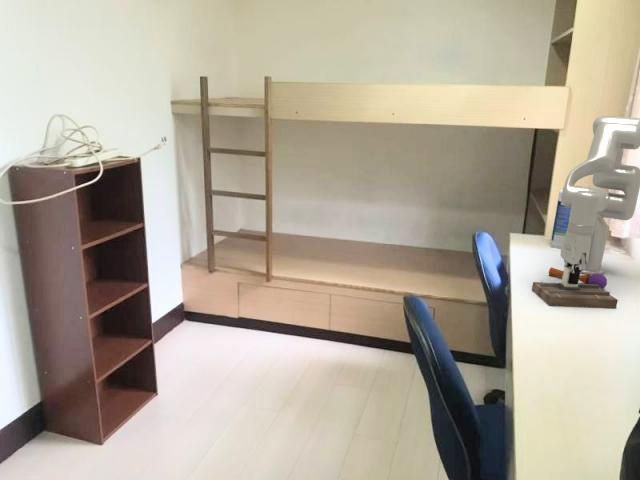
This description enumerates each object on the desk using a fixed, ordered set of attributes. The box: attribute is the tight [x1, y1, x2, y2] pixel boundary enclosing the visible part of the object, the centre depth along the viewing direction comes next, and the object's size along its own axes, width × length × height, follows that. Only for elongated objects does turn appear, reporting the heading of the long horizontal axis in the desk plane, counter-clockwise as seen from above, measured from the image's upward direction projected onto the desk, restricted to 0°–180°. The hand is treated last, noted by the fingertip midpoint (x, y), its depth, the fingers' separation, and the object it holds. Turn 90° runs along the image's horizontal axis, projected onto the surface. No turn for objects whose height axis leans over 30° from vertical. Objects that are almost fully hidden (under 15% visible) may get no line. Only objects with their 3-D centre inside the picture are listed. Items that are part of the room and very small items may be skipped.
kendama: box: [548, 267, 608, 290], centre depth 192 cm, size 6×6×20 cm
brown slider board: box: [531, 281, 619, 309], centre depth 176 cm, size 14×22×4 cm, turn 91°
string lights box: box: [549, 189, 571, 249], centre depth 235 cm, size 13×8×26 cm, turn 66°
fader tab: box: [558, 266, 580, 290], centre depth 174 cm, size 4×5×8 cm
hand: (570, 281), depth 175 cm, fingers closed on fader tab, 3 cm apart
